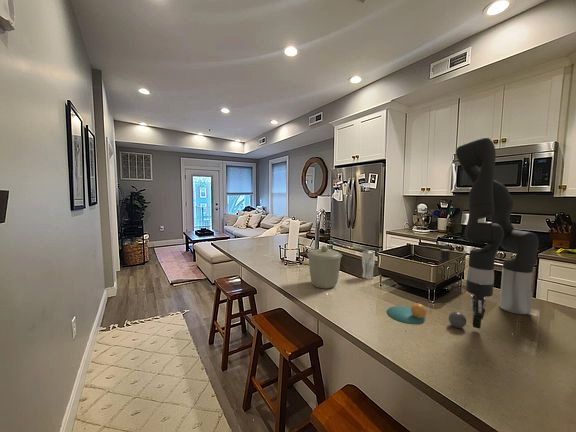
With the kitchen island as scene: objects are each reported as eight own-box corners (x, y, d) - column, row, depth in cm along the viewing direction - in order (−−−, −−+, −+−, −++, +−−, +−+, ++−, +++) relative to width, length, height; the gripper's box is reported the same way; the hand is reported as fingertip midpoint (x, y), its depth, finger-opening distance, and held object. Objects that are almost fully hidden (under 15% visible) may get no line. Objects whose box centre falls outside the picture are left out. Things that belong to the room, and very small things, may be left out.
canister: (346, 282, 138) (347, 244, 136) (333, 294, 123) (334, 251, 120) (316, 276, 147) (316, 241, 145) (300, 287, 132) (300, 247, 130)
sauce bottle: (453, 291, 126) (455, 251, 124) (439, 290, 127) (441, 251, 125) (447, 286, 132) (450, 248, 130) (434, 285, 134) (436, 248, 132)
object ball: (416, 298, 103) (409, 308, 105) (414, 303, 98) (407, 314, 100) (430, 307, 100) (422, 317, 102) (428, 313, 96) (420, 323, 98)
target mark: (426, 311, 105) (426, 311, 105) (423, 327, 93) (423, 327, 93) (390, 303, 112) (390, 303, 112) (383, 317, 100) (383, 317, 100)
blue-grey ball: (451, 306, 96) (445, 318, 97) (453, 312, 91) (446, 325, 93) (468, 314, 94) (461, 326, 95) (470, 321, 89) (463, 333, 90)
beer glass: (374, 276, 148) (375, 251, 146) (374, 280, 141) (375, 253, 140) (361, 275, 150) (362, 250, 149) (361, 279, 144) (361, 252, 142)
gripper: (465, 272, 96) (462, 316, 98) (468, 283, 85) (464, 332, 87) (490, 276, 92) (487, 321, 94) (497, 288, 81) (492, 339, 83)
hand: (476, 326), depth 91 cm, fingers closed
